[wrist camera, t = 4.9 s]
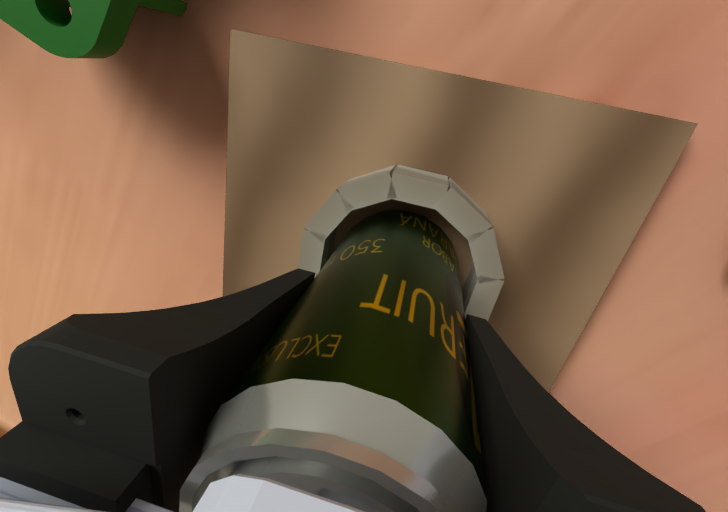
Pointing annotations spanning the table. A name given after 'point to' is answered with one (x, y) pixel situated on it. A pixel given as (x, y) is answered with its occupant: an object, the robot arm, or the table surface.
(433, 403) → the beer can
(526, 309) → the collar board
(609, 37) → the table surface
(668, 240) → the table surface
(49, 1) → the clamp
